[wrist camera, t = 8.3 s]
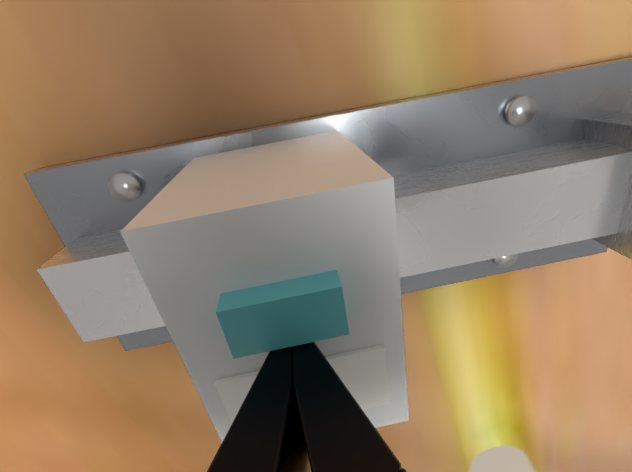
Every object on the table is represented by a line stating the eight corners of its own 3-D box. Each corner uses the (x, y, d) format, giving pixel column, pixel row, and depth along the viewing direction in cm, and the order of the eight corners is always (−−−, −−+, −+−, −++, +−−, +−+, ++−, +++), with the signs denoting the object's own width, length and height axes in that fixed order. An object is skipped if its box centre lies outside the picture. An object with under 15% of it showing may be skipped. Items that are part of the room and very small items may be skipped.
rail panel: (591, 243, 16) (678, 289, 12) (132, 338, 15) (91, 413, 12) (636, 55, 12) (776, 46, 9) (39, 168, 12) (-59, 206, 8)
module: (359, 293, 14) (417, 442, 9) (246, 316, 14) (227, 484, 8) (337, 130, 11) (405, 187, 5) (193, 157, 11) (104, 247, 5)
